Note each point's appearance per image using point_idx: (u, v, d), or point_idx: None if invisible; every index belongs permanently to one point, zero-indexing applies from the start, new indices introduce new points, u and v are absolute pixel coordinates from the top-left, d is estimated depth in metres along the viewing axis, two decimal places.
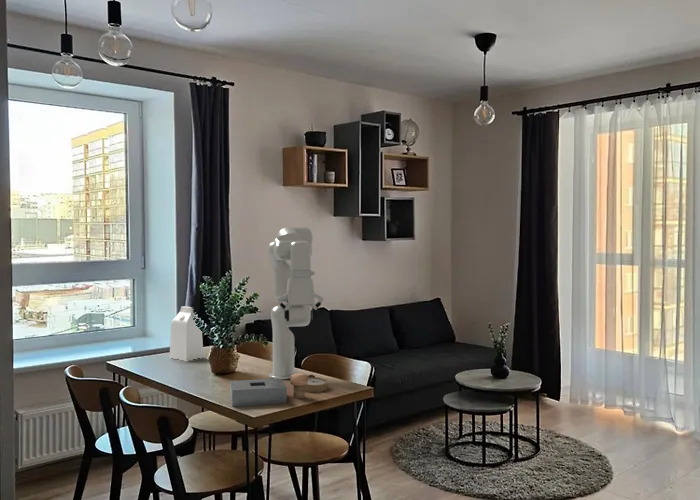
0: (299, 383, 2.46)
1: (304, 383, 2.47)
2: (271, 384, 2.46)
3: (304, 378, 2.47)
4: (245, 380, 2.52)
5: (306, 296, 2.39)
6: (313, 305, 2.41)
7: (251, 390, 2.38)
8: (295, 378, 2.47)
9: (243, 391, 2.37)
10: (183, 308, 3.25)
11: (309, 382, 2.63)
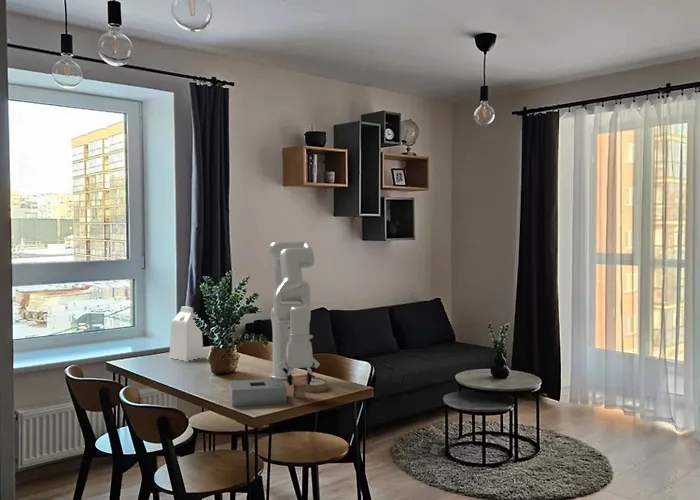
0: (299, 383, 2.46)
1: (304, 383, 2.47)
2: (271, 384, 2.46)
3: (304, 378, 2.47)
4: (245, 380, 2.52)
5: (305, 359, 2.48)
6: (309, 369, 2.49)
7: (251, 390, 2.38)
8: (295, 378, 2.47)
9: (243, 391, 2.37)
10: (183, 308, 3.25)
11: None
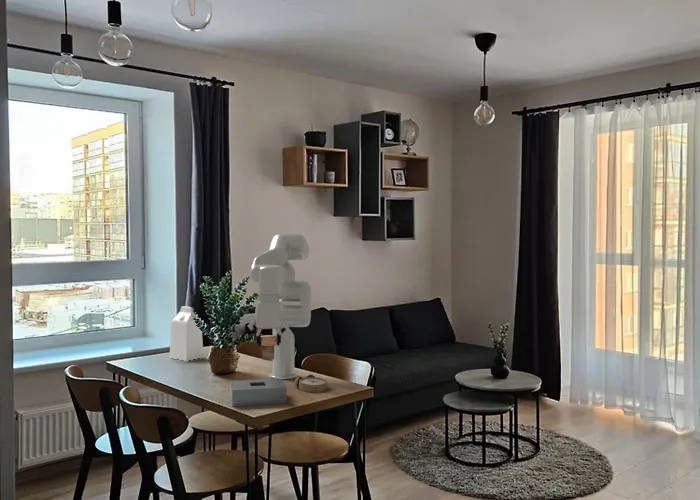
0: (268, 344, 2.43)
1: (273, 344, 2.44)
2: (271, 384, 2.46)
3: (273, 339, 2.44)
4: (245, 380, 2.52)
5: (274, 320, 2.44)
6: (279, 330, 2.46)
7: (251, 390, 2.38)
8: (264, 339, 2.43)
9: (243, 391, 2.37)
10: (183, 308, 3.25)
11: (309, 382, 2.63)
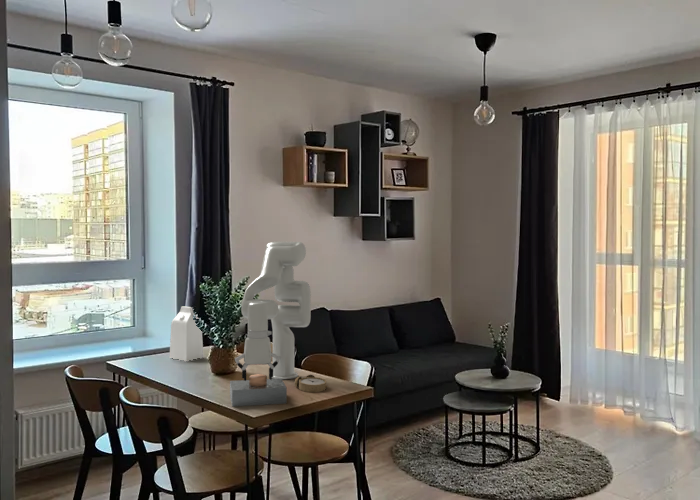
0: (257, 384, 2.43)
1: (262, 384, 2.43)
2: (271, 384, 2.46)
3: (262, 379, 2.43)
4: None
5: (263, 356, 2.44)
6: (270, 364, 2.45)
7: (251, 390, 2.38)
8: (253, 379, 2.43)
9: (243, 391, 2.37)
10: (183, 308, 3.25)
11: (308, 382, 2.63)
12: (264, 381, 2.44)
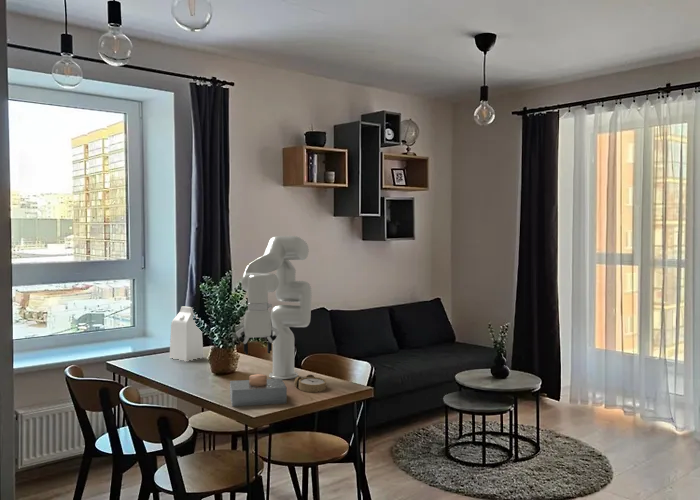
0: (257, 384, 2.43)
1: (262, 384, 2.43)
2: (271, 384, 2.46)
3: (262, 379, 2.43)
4: (245, 380, 2.52)
5: (263, 328, 2.43)
6: (269, 338, 2.45)
7: (251, 390, 2.38)
8: (253, 379, 2.43)
9: (243, 391, 2.37)
10: (183, 308, 3.25)
11: (308, 382, 2.63)
12: (264, 381, 2.44)
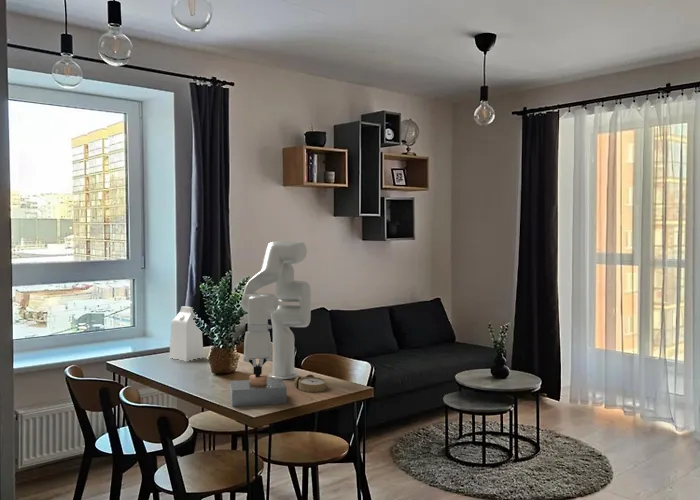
0: (257, 384, 2.43)
1: (262, 384, 2.43)
2: (271, 384, 2.46)
3: (262, 379, 2.43)
4: (245, 380, 2.52)
5: (263, 350, 2.44)
6: (261, 361, 2.45)
7: (251, 390, 2.38)
8: (253, 379, 2.43)
9: (243, 391, 2.37)
10: (183, 308, 3.25)
11: (308, 382, 2.63)
12: (264, 381, 2.44)
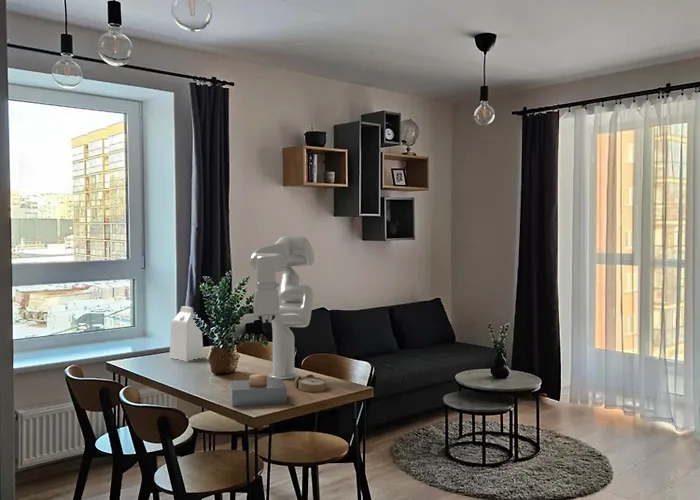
0: (257, 384, 2.43)
1: (262, 384, 2.43)
2: (271, 384, 2.46)
3: (262, 379, 2.43)
4: (245, 380, 2.52)
5: (271, 307, 2.55)
6: (270, 317, 2.56)
7: (251, 390, 2.38)
8: (253, 379, 2.43)
9: (243, 391, 2.37)
10: (183, 308, 3.25)
11: (308, 382, 2.63)
12: (264, 381, 2.44)
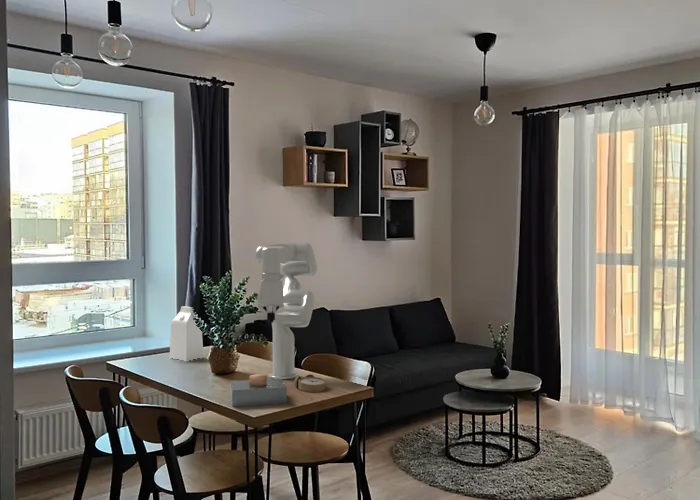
0: (257, 384, 2.43)
1: (262, 384, 2.43)
2: (271, 384, 2.46)
3: (262, 379, 2.43)
4: (245, 380, 2.52)
5: (276, 297, 2.61)
6: (274, 308, 2.62)
7: (251, 390, 2.38)
8: (253, 379, 2.43)
9: (243, 391, 2.37)
10: (183, 308, 3.25)
11: (308, 382, 2.63)
12: (264, 381, 2.44)
